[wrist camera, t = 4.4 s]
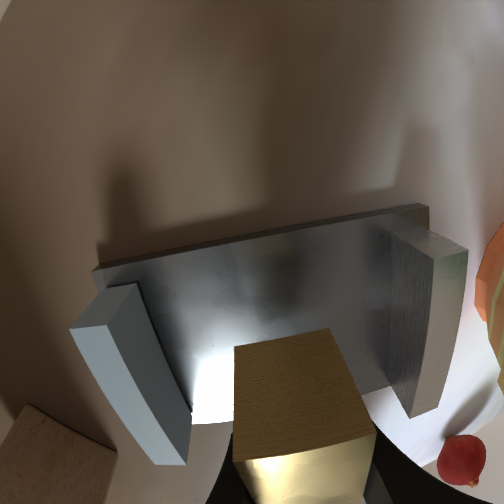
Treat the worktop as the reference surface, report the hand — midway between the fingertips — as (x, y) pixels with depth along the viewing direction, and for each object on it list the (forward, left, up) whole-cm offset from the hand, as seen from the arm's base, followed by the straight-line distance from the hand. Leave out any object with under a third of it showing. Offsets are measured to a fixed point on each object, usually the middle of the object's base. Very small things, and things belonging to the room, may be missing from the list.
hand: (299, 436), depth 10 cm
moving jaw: (0, +7, -6) cm, 10 cm away
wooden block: (-12, +23, -8) cm, 27 cm away
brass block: (0, 0, -2) cm, 2 cm away
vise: (0, 0, -8) cm, 8 cm away
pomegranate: (-21, -17, -8) cm, 28 cm away
